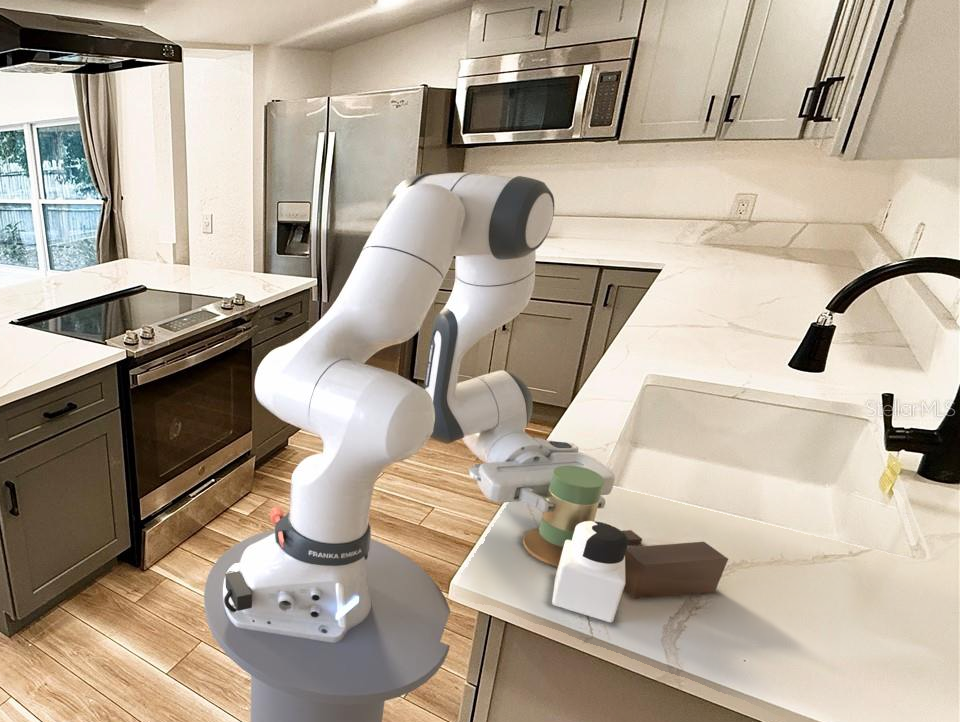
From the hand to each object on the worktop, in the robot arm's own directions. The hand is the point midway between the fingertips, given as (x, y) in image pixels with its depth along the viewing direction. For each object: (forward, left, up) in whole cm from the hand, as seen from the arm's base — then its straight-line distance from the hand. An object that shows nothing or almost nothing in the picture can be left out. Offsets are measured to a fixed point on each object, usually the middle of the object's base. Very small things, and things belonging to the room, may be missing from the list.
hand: (575, 506), depth 93 cm
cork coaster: (0, +1, -9) cm, 9 cm away
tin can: (0, -4, -5) cm, 6 cm away
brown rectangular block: (+9, -3, -9) cm, 13 cm away
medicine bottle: (-3, -11, -9) cm, 14 cm away
